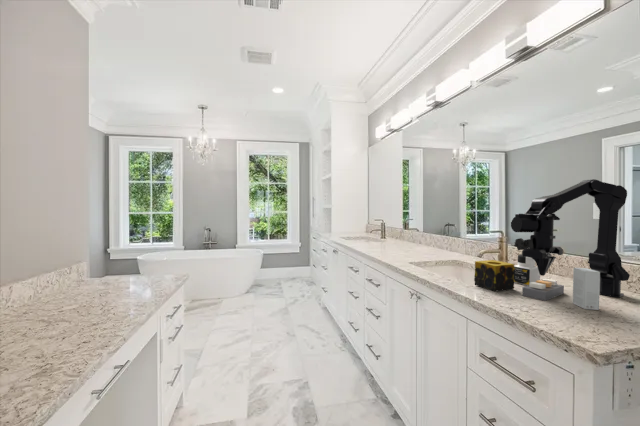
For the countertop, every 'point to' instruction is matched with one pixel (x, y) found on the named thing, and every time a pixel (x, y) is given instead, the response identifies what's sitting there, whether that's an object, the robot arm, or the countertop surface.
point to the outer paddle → (537, 285)
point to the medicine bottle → (526, 271)
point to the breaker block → (543, 292)
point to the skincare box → (586, 288)
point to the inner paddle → (550, 281)
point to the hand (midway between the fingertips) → (542, 275)
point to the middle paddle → (548, 284)
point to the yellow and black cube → (494, 275)
